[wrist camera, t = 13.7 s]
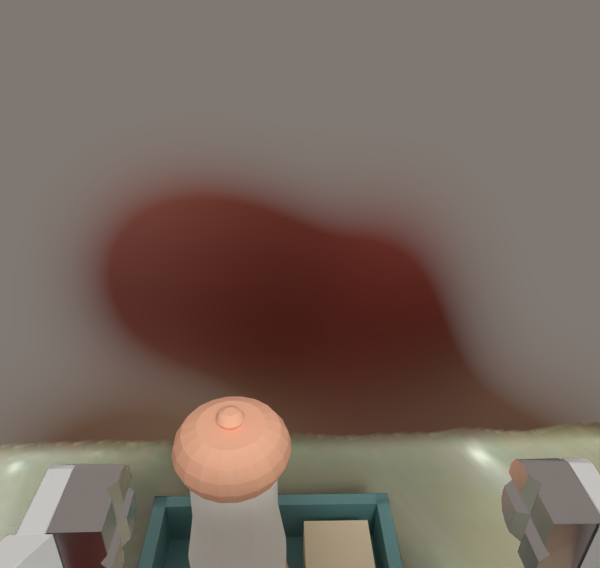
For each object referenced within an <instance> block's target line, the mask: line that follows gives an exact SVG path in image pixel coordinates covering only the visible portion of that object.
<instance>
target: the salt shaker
mask: <svg viewBox="0 0 600 568" xmlns="http://www.w3.org/2000/svg"><path fill="white" fill-rule="evenodd" d="M290 455H291V438H290V435H289V433H288V430H287V428H286V426H285V424H284V422H283V420H282V419H281V418H280V417H279V416H278V415H277V414H276V413H275V412H274V411H273V410H272V409H271V408H270V407H268V406H267V405H266V404H264V403H262V402H260V401H258V400H256V399H251V398H246V397H224V398H219V399H215V400H212V401H210V402H208V403H205V404H203V405H201V406H199V407H198V408H197V409H196V410H194V411H193V412H192V413H191V414H190V415H189V416H188V417H187V418H186V419H185V420H184V422H183V423H182V425H181V426H180V428H179V429H178V431H177V432H176V435H175V440H174V444H173V449H172V454H171V458H172V462H173V467H174V470H175V472H176V473H177V475H178V476H179V478H180V479H181V480H182V482H183V483H184V484H185V486H186V487H187V488H188V489H189V490H190V498H191V507H192V526H191V535H190V544H189V552H188V558H189V563H190V568H289V566H288V564H287V561H286V536H285V532H284V528H283V523H282V519H281V515H280V511H279V506H278V479H279V478H280V476H281V475H282V474H283V472H284V470H285V468H286V466H287V463H288V461H289V458H290Z"/></svg>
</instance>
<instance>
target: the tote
mask: <svg viewBox="0 0 600 568" xmlns="http://www.w3.org/2000/svg"><path fill="white" fill-rule="evenodd" d="M278 506H279V511H280V515H281V519H282V523H283V528H284V532H285V536H286V561H287V564H288V566H289V568H303V530H304V521H341V520H368V526H369V532H370V538H371V544H372V550H373V556H374V562H375V568H403V565H402V560H401V556H400V551H399V546H398V542H397V537H396V532H395V528H394V523H393V518H392V514H391V509H390V504H389V500H388V495H387V493H364V494H294V495H278ZM191 526H192V507H191V498H190V496H155V499H154V503H153V507H152V512H151V516H150V520H149V524H148V528H147V532H146V536H145V540H144V544H143V548H142V552H141V556H140V560H139V564H138V568H190V563H189V558H188V552H189V544H190V535H191Z"/></svg>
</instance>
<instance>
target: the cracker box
mask: <svg viewBox="0 0 600 568" xmlns="http://www.w3.org/2000/svg"><path fill="white" fill-rule="evenodd" d="M303 568H375V562H374V556H373V550H372V544H371V538H370V532H369V526H368V520H341V521H304V530H303Z"/></svg>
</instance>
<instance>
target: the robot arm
mask: <svg viewBox="0 0 600 568" xmlns="http://www.w3.org/2000/svg"><path fill="white" fill-rule="evenodd" d="M509 473H510V475H511V477H512V480H511V481H510V482H509V483H508V484H507V485H505V486H504V490H503V494H502V512H503V516H504V520H505V523H506V525H507V528H508V530H509V532H510V533H511V534H512V535H513V536H515V537H516V538H517V539H518V540H519V541H521V543H520V546H519V549H518V553H519V556H520V558H521V560H522V563H523V565H524V567H525V568H600V474H599V473H598V471H597V470H596V468H595V467H594V465H593V464H592V463H591V462H590V461H589V460H588V459H586V458H562V459H559V458H547V459H515V460H514V461H513V462H512V464H511V467H510V470H509ZM130 479H131V473H130V469H129V465H124V464H53V465H52V466H51V467H50V468H49V469H48V470H47V471H46V473H45V475H44V477H43V479H42V481H41V483H40V486H39V488H38V490H37V492H36V494H35V496H34V498H33V500H32V502H31V504H30V506H29V508H28V510H27V512H26V514H25V516H24V518H23V520H22V522H21V524H20V526H19V529H18V531H17V533H16V535H7V536H6V537H5V538H3V539H2V540H1V541H0V568H123V565H124V561H125V557H124V552H123V546H124V545H125V544H126V543H127V542H128V541H129V540H130V539H131V535H132V531H133V527H134V522H135V513H136V499H135V494H134V491H133V490H132V489H131V488H129V487H128V486H129V483H130Z"/></svg>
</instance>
